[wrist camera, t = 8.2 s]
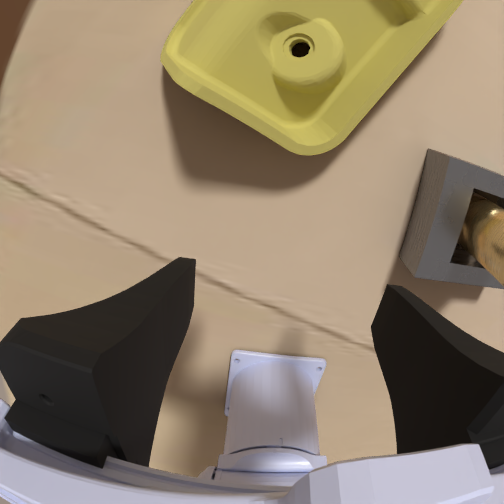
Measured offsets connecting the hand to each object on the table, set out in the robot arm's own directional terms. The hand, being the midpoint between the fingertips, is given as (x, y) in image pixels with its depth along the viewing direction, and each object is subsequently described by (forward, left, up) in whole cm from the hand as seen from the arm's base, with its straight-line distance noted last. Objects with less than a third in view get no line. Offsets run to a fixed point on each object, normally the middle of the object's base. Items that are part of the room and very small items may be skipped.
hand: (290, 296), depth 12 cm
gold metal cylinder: (+2, -14, -10) cm, 17 cm away
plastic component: (+14, -1, -10) cm, 18 cm away
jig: (+2, -14, -10) cm, 17 cm away
